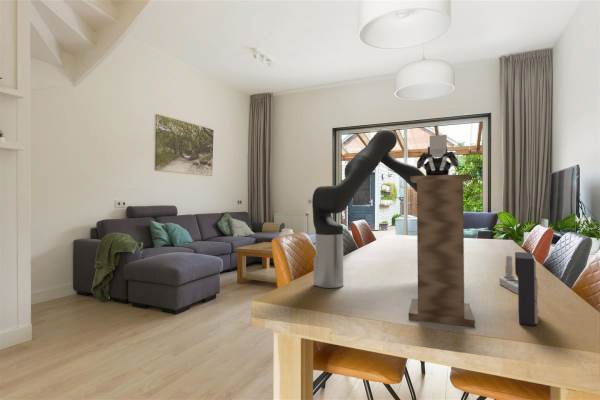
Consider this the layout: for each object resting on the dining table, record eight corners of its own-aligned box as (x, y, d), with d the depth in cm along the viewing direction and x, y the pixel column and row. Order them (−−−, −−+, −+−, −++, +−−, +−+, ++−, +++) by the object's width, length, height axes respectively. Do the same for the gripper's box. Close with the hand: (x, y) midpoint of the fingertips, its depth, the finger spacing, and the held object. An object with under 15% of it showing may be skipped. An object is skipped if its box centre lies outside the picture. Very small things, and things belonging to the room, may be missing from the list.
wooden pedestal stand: (408, 319, 80) (407, 175, 81) (412, 303, 93) (411, 179, 93) (474, 326, 75) (473, 173, 75) (468, 309, 88) (467, 177, 88)
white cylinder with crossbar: (430, 158, 115) (430, 147, 115) (444, 157, 114) (444, 146, 114) (429, 149, 96) (429, 135, 96) (446, 148, 94) (446, 134, 94)
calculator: (539, 327, 75) (538, 259, 75) (515, 323, 77) (515, 257, 77) (536, 313, 84) (535, 252, 84) (515, 310, 86) (514, 251, 87)
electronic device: (519, 264, 100) (496, 254, 115) (519, 297, 101) (496, 283, 115) (539, 264, 100) (513, 255, 115) (538, 297, 100) (513, 284, 115)
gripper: (416, 169, 127) (414, 139, 113) (458, 167, 122) (461, 135, 108) (416, 185, 123) (414, 157, 110) (459, 185, 118) (462, 154, 104)
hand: (437, 146), depth 109 cm, fingers closed on white cylinder with crossbar, 3 cm apart
